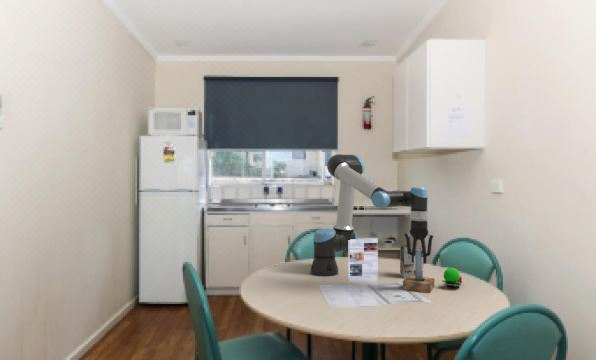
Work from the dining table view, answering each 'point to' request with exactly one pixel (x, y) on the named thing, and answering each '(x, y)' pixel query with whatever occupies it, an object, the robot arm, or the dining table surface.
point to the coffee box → (406, 262)
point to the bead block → (418, 284)
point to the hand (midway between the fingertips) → (419, 269)
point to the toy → (452, 277)
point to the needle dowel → (418, 265)
